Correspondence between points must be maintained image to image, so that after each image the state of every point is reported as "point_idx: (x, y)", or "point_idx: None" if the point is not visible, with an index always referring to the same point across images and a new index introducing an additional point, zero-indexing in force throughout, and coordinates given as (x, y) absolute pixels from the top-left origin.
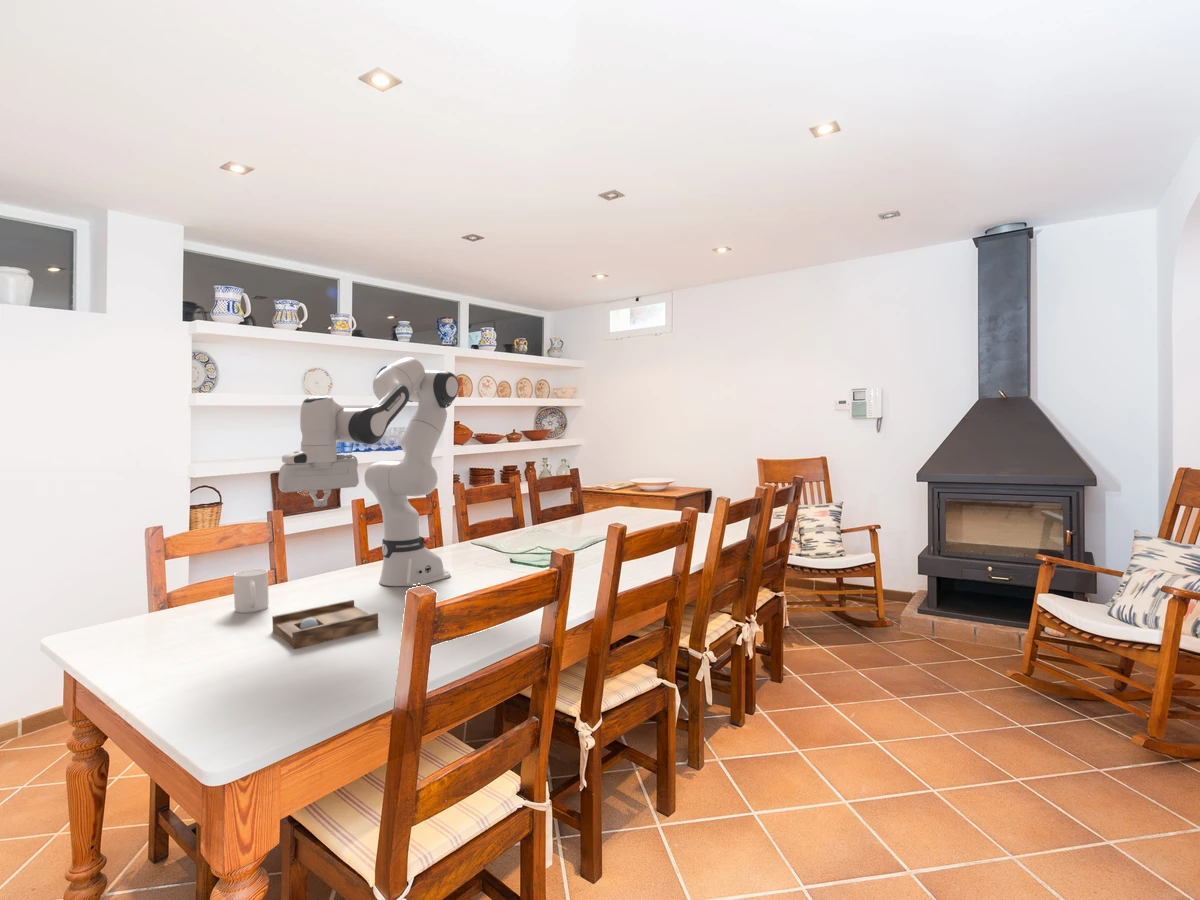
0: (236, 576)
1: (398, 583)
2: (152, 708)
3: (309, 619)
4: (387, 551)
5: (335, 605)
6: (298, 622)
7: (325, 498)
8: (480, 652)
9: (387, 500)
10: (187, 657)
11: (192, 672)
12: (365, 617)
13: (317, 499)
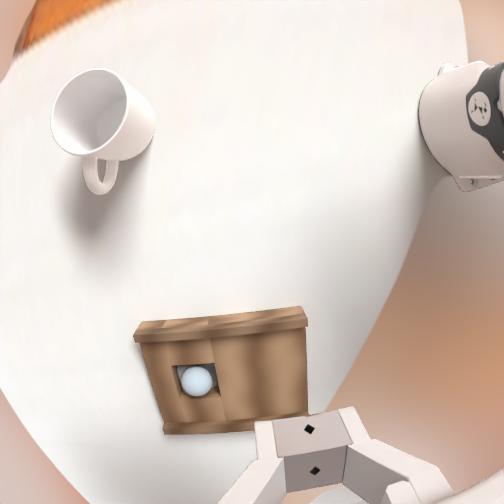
0: (53, 135)
1: (445, 164)
2: (52, 453)
3: (195, 394)
4: (481, 125)
5: (263, 331)
6: (180, 361)
7: (353, 488)
8: (352, 498)
9: None
10: (40, 353)
11: (58, 405)
12: None
13: (277, 502)
